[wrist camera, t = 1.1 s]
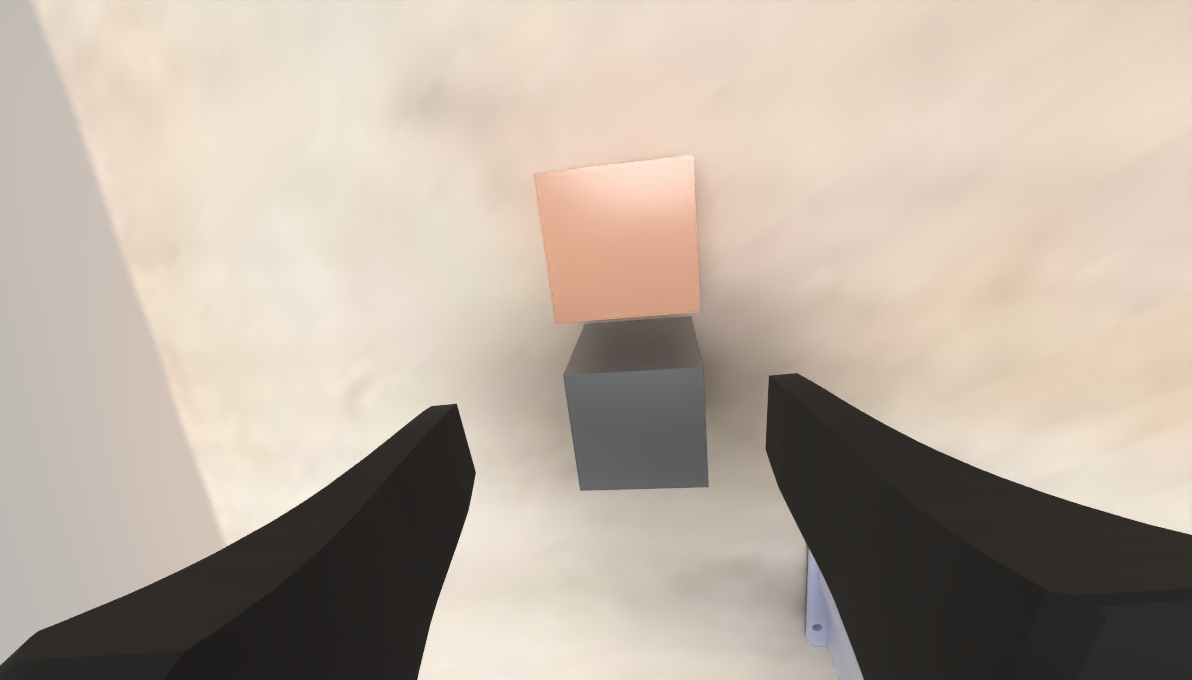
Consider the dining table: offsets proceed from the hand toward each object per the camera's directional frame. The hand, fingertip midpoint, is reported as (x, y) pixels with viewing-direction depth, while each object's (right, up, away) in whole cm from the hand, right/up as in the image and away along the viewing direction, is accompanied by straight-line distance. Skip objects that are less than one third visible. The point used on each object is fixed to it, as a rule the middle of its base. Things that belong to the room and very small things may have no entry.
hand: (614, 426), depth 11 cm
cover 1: (+1, +7, +10) cm, 13 cm away
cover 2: (+2, +1, +13) cm, 13 cm away
